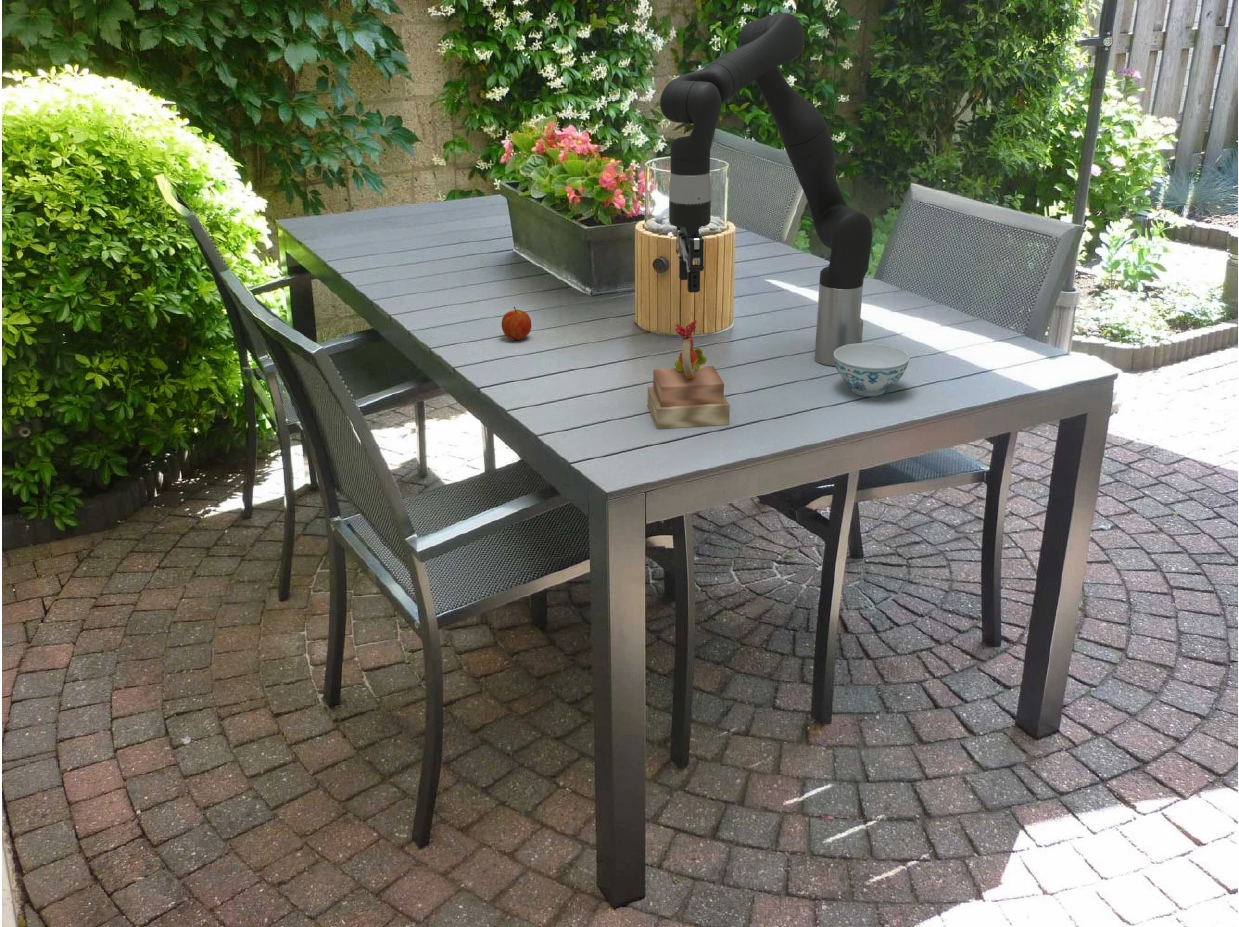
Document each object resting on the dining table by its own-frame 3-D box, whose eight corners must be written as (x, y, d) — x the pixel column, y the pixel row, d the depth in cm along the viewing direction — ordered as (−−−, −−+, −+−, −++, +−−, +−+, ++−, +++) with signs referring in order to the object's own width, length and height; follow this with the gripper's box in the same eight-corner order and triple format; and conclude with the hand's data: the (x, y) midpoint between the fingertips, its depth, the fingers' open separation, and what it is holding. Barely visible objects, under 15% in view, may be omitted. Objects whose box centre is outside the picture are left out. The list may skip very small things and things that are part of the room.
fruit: (520, 332, 266) (519, 300, 262) (537, 339, 261) (536, 306, 257) (496, 338, 262) (494, 305, 258) (513, 345, 257) (511, 312, 253)
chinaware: (879, 373, 237) (882, 339, 234) (920, 397, 224) (924, 361, 221) (817, 383, 232) (820, 348, 229) (856, 408, 220) (859, 371, 216)
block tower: (716, 401, 224) (717, 363, 220) (729, 424, 213) (730, 385, 210) (647, 405, 222) (647, 367, 219) (657, 428, 212) (657, 389, 208)
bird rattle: (706, 389, 214) (706, 357, 220) (706, 346, 205) (707, 314, 211) (673, 389, 214) (675, 356, 220) (672, 346, 206) (674, 314, 212)
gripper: (718, 205, 194) (717, 295, 201) (702, 189, 207) (701, 274, 213) (676, 207, 193) (676, 297, 200) (662, 190, 206) (663, 276, 213)
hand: (689, 285), depth 207 cm, fingers open, 8 cm apart
